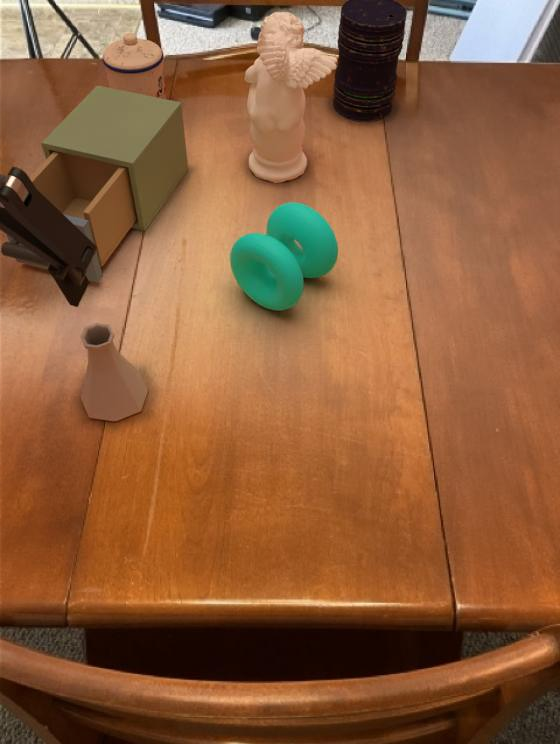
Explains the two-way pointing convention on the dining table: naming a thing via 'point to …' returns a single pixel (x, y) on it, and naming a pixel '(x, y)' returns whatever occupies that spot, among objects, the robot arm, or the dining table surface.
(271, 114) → the cherub figurine
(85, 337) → the flask
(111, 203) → the drawer
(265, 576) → the dining table surface
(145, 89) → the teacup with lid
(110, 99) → the cabinet
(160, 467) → the dining table surface
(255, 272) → the green rounded spool
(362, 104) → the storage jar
